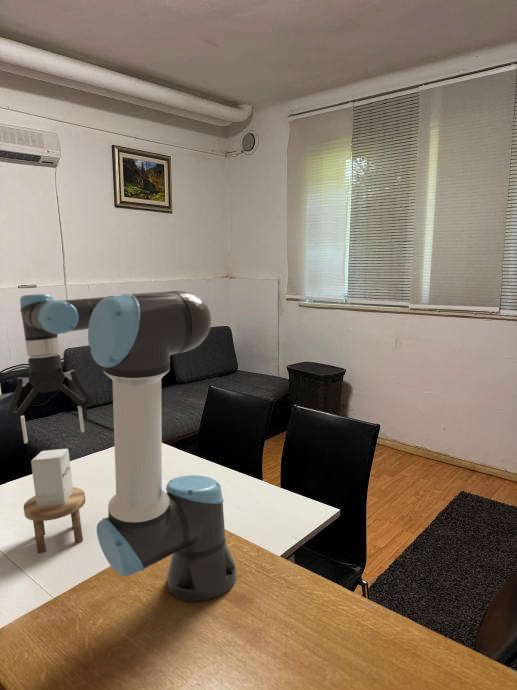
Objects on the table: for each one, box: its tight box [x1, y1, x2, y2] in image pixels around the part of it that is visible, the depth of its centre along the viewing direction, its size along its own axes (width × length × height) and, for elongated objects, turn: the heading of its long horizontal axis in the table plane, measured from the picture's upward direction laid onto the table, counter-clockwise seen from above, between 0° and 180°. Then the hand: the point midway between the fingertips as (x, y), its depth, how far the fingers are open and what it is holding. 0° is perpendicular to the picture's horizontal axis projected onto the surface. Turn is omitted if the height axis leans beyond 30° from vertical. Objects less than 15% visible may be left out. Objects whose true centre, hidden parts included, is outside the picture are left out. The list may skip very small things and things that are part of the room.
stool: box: [23, 486, 86, 555], centre depth 127 cm, size 15×15×11 cm
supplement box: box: [30, 448, 74, 506], centre depth 126 cm, size 7×7×13 cm
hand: (55, 436), depth 123 cm, fingers open, 13 cm apart
